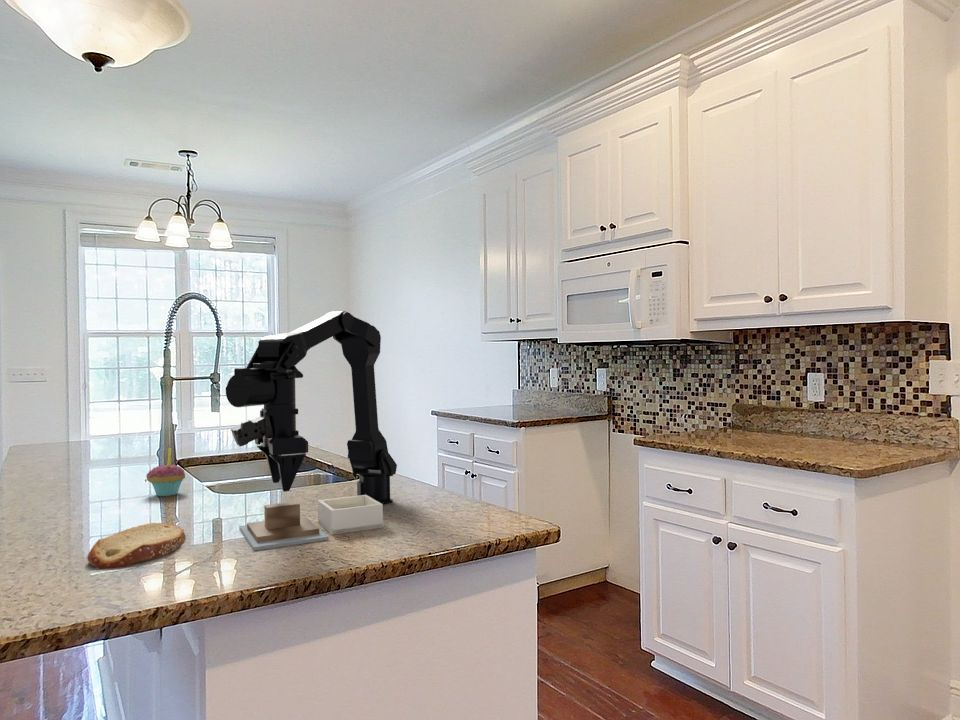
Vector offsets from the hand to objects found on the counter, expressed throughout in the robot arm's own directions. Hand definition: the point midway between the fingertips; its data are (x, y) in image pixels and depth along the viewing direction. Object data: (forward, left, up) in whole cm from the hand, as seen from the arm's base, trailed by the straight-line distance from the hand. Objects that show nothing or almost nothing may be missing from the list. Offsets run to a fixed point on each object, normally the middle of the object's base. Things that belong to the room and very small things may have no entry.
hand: (280, 486), depth 126 cm
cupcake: (+17, -51, -9) cm, 55 cm away
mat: (0, 0, -9) cm, 9 cm away
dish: (-13, 0, -9) cm, 16 cm away
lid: (0, 0, -8) cm, 8 cm away
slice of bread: (+24, -4, -10) cm, 26 cm away
